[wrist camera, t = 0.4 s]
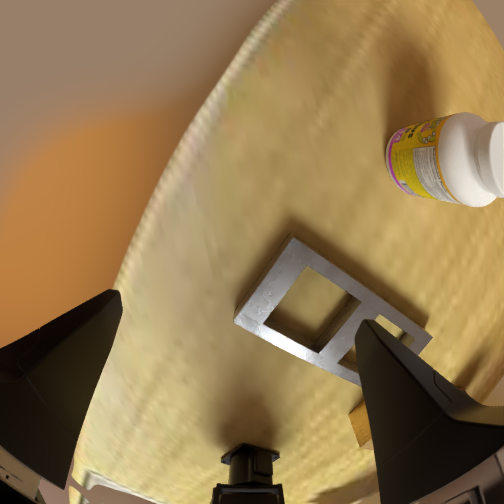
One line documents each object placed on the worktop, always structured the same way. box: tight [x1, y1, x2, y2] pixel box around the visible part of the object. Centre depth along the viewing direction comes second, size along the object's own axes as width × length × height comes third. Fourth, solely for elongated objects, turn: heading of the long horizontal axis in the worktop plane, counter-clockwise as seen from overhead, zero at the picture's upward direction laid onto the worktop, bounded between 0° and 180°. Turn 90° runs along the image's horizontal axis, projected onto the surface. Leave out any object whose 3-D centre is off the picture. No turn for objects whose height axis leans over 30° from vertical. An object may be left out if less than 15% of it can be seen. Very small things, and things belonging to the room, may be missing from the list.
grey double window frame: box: [233, 233, 433, 387], centre depth 25 cm, size 9×20×2 cm, turn 57°
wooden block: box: [349, 400, 374, 450], centre depth 27 cm, size 4×4×6 cm
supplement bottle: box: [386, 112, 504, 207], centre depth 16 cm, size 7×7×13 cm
